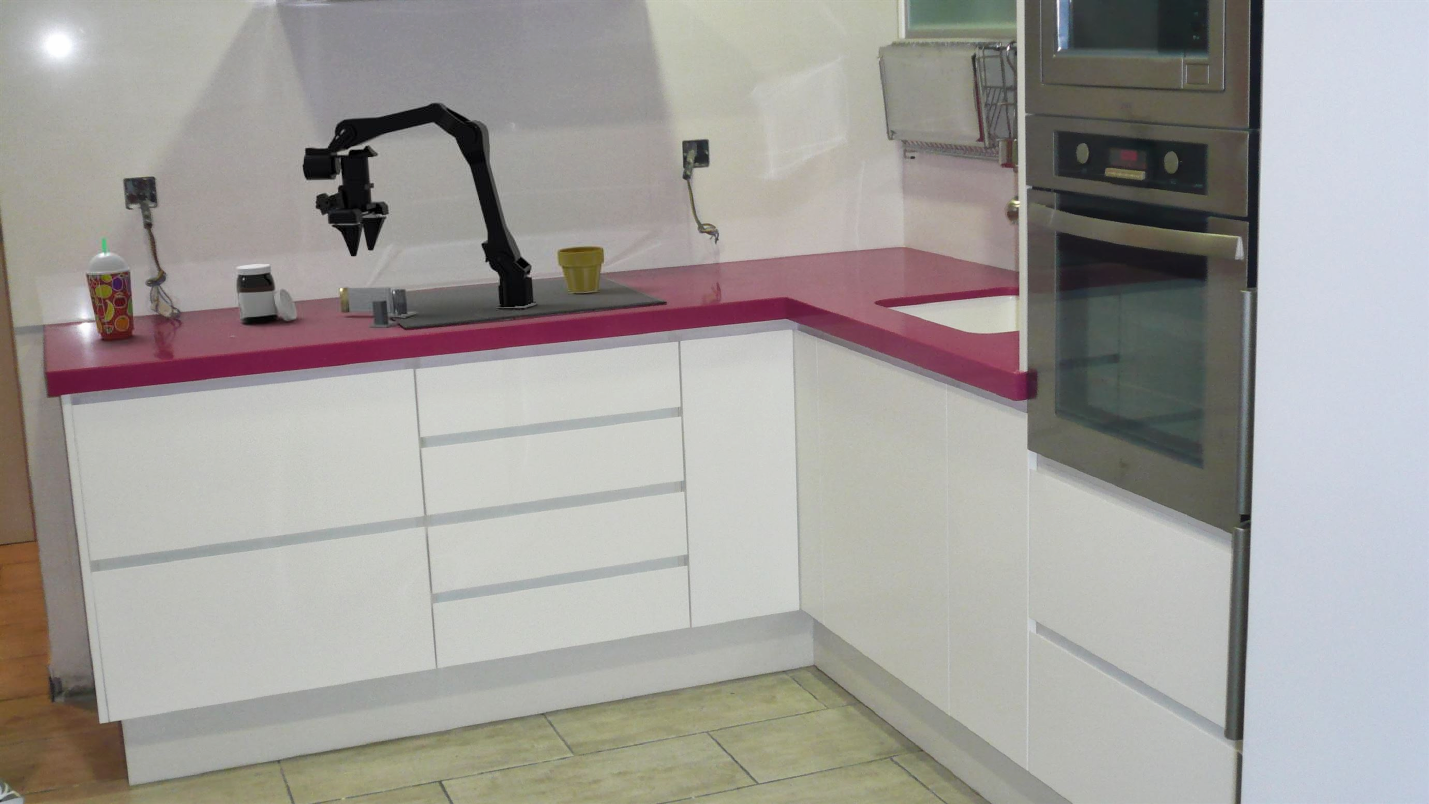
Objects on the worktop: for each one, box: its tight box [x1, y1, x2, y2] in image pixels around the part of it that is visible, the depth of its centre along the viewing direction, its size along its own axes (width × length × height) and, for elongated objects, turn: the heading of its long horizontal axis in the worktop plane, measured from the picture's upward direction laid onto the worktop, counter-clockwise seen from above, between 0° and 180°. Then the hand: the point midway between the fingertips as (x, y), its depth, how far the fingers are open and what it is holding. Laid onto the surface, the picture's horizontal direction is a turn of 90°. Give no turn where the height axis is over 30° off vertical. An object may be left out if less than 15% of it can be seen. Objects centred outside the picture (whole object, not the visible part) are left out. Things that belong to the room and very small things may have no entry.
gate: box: [338, 286, 394, 314], centre depth 297 cm, size 11×2×5 cm, turn 80°
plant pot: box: [557, 245, 605, 293], centre depth 317 cm, size 10×10×10 cm
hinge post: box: [388, 288, 418, 319], centre depth 296 cm, size 5×5×6 cm
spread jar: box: [235, 263, 298, 325], centre depth 296 cm, size 12×11×12 cm
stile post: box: [369, 300, 398, 329], centre depth 285 cm, size 4×4×5 cm
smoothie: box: [84, 237, 135, 341], centre depth 282 cm, size 8×8×20 cm
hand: (362, 253), depth 300 cm, fingers open, 9 cm apart
